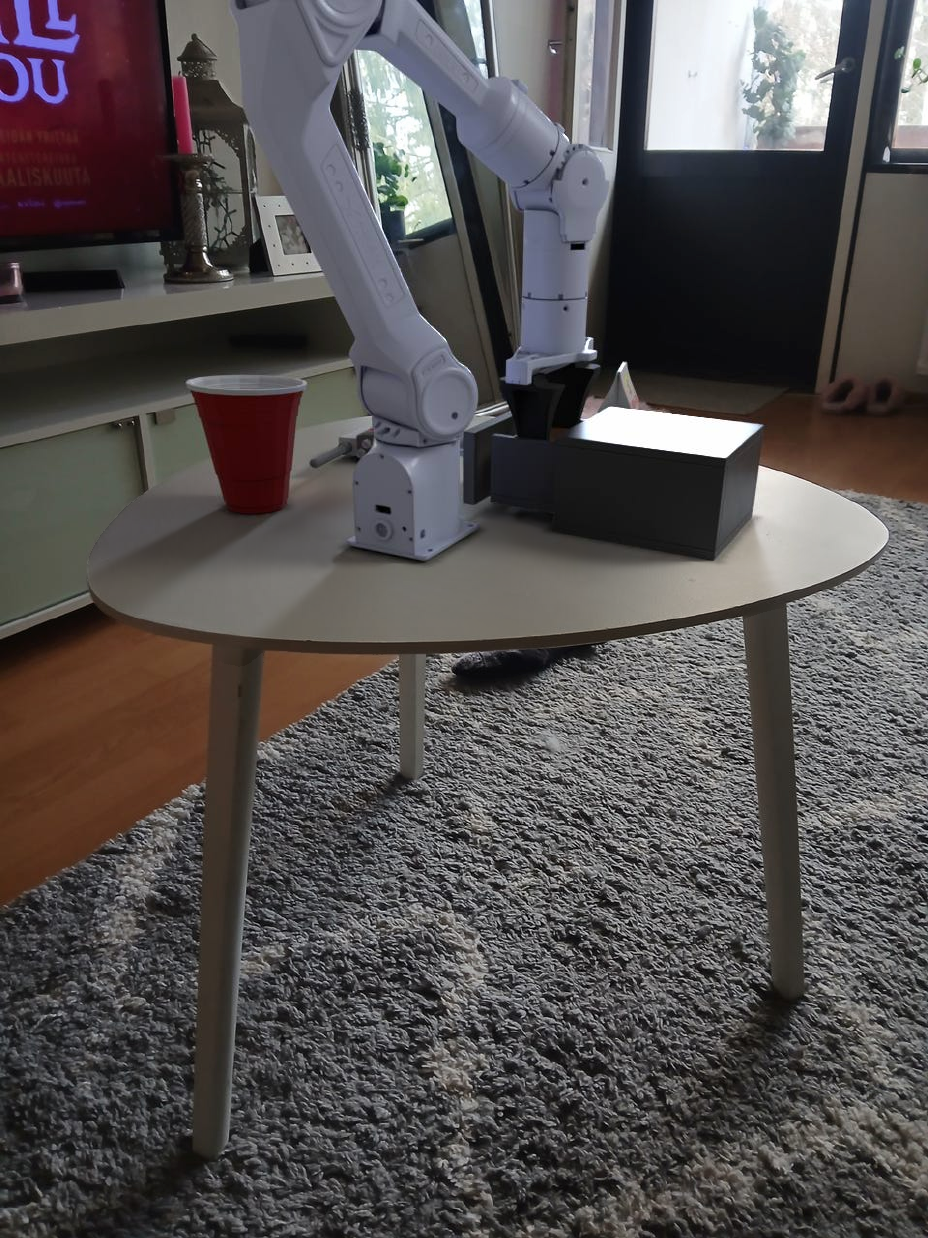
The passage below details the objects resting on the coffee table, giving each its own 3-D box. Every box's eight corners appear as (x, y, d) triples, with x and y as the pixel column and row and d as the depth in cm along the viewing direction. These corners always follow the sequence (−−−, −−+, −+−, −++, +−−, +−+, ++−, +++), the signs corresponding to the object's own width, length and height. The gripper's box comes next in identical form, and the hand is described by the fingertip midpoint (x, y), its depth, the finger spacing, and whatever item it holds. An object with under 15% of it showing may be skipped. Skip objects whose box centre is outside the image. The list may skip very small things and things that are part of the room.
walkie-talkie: (386, 432, 118) (303, 476, 101) (384, 396, 116) (300, 434, 99) (452, 439, 115) (379, 485, 98) (452, 401, 113) (377, 442, 96)
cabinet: (551, 531, 86) (555, 435, 82) (604, 493, 96) (609, 406, 92) (714, 560, 79) (726, 458, 76) (752, 516, 89) (764, 424, 86)
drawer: (424, 496, 92) (423, 425, 89) (480, 467, 101) (481, 402, 98) (598, 527, 84) (603, 450, 81) (642, 492, 93) (648, 422, 90)
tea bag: (594, 465, 105) (600, 371, 101) (602, 449, 111) (607, 360, 107) (628, 467, 104) (635, 373, 100) (634, 451, 110) (641, 362, 106)
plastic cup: (336, 495, 95) (329, 371, 90) (273, 529, 86) (262, 393, 81) (245, 482, 99) (233, 363, 94) (176, 513, 90) (159, 383, 85)
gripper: (563, 308, 77) (556, 474, 82) (627, 290, 88) (617, 437, 94) (484, 303, 80) (483, 463, 86) (556, 286, 91) (550, 428, 97)
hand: (548, 449), depth 90 cm, fingers open, 6 cm apart
